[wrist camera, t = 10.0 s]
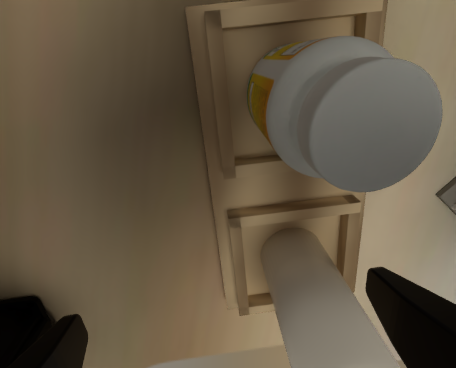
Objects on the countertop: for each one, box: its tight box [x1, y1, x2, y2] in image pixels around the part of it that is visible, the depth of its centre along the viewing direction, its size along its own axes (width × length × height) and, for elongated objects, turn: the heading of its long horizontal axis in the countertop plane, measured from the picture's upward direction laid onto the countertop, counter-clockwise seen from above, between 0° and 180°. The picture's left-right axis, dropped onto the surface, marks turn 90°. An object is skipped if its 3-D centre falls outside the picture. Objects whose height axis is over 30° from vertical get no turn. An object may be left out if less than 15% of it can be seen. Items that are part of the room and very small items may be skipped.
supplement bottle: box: [246, 36, 442, 192], centre depth 13 cm, size 5×5×10 cm
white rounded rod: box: [260, 227, 401, 368], centre depth 17 cm, size 5×5×10 cm
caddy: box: [185, 0, 388, 316], centre depth 19 cm, size 11×22×2 cm, turn 6°
